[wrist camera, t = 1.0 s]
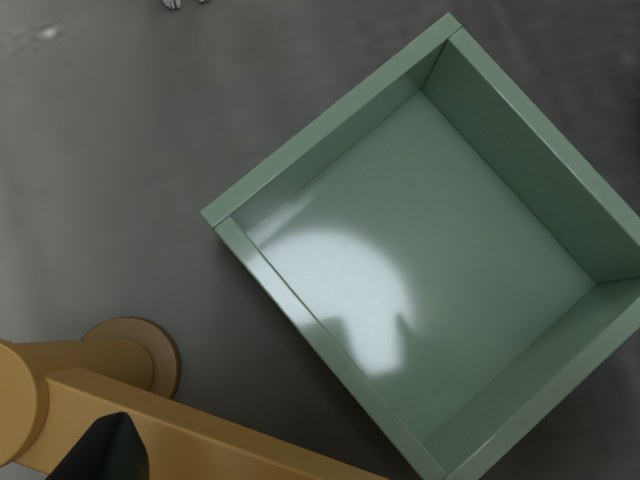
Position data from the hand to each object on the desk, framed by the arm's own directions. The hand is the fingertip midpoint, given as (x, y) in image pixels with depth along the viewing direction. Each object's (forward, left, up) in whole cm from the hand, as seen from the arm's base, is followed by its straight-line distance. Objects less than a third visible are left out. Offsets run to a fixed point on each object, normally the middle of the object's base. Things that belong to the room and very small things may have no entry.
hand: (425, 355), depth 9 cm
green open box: (0, -4, -14) cm, 15 cm away
